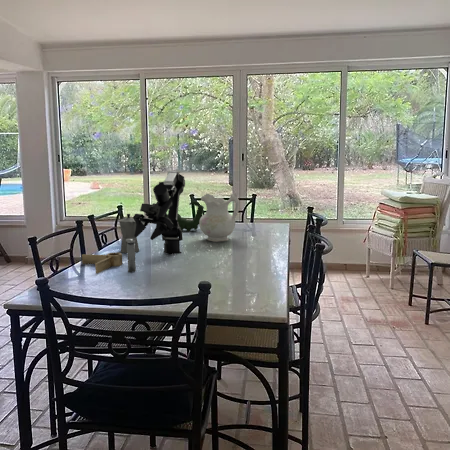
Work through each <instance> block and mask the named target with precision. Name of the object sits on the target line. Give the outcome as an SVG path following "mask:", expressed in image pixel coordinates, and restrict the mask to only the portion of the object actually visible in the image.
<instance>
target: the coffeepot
mask: <svg viewBox="0 0 450 450" xmlns="http://www.w3.org/2000/svg"><path fill="white" fill-rule="evenodd" d="M118 222H119V226H120V233H121V245H120V246H121V247H120V253H121V254H127V243H126V239H136V242H135V253H138V252H140V247H139V243H138V236H137V237H135V236H134V235H135V230H136V222H135V221H134V219H133V217H131V213H127V214H126V217H125V216H122V217H121V219H119V220H118Z"/></svg>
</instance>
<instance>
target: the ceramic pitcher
mask: <svg viewBox="0 0 450 450" xmlns="http://www.w3.org/2000/svg"><path fill="white" fill-rule="evenodd" d="M200 200H201V201H202V202H203V203H205V207H206V212H205V213H203V214H202V217H201V218H200V221H199V225H198V226H199V229H200V231H201V233H202V234H203V235H204V236H207V238H206V240H207V241H208V242H215V243H218V242H228V241H229V238H228V236H230V235H231V234H232V233H233V232H234V231H235V228H236V217H237V216H238V213H239V211H240V200H239V198H238V195H237V194H236V193H232V194H230V197H229V199H228V200H227V199H226V200H225V199H224V198H223V197H215V195H213V194H210V193H206V194H203V195H202V196H201V197H200ZM232 202H234V203H235V208H234V210H233V213H232V214H230V213H229V205H230V203H232Z"/></svg>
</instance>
